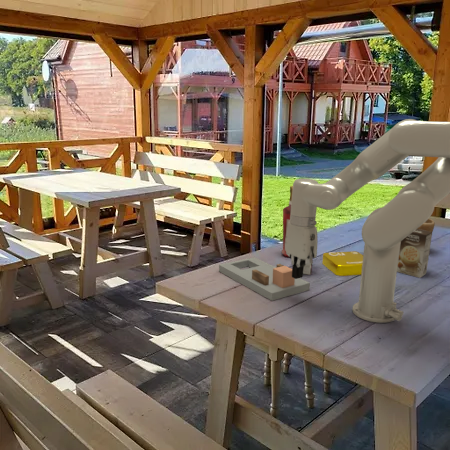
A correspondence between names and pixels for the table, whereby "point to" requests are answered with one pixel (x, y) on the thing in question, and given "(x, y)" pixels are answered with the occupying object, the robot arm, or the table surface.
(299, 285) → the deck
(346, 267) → the element tile
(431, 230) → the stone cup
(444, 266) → the table surface
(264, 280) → the channel walls
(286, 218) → the red sauce bottle
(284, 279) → the block
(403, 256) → the coffee box
